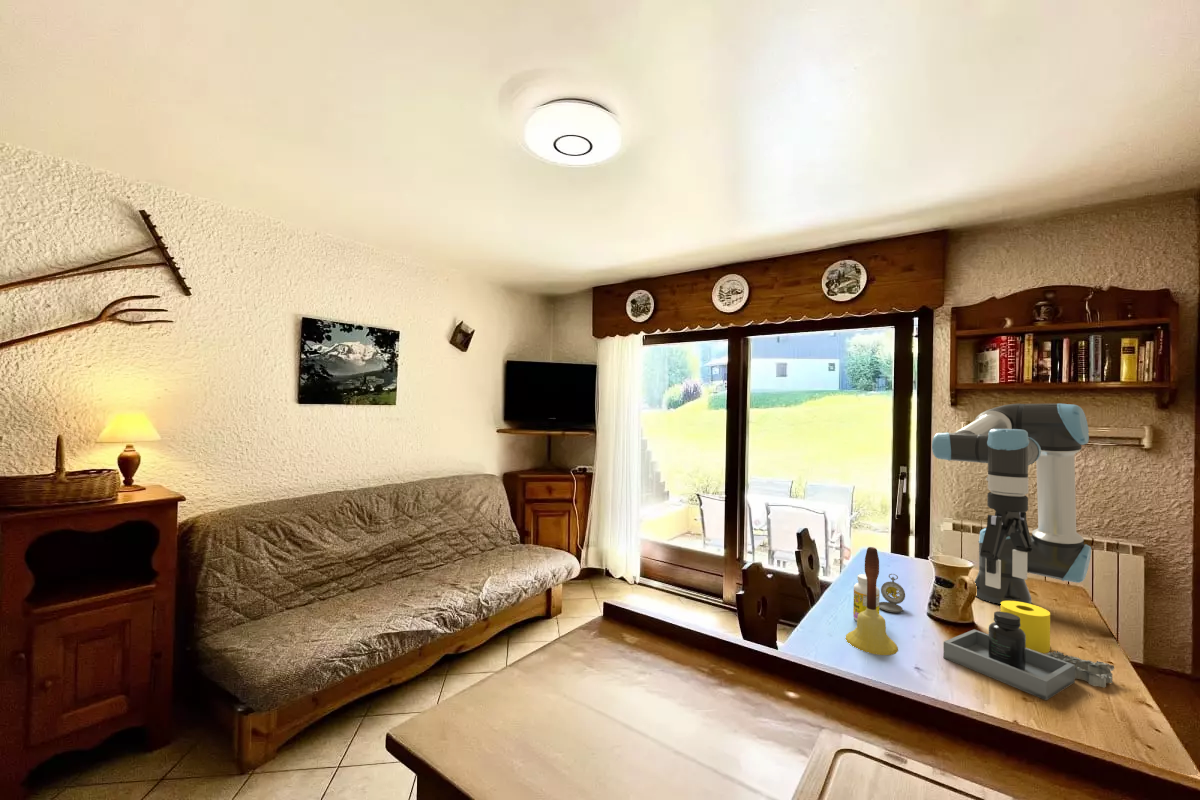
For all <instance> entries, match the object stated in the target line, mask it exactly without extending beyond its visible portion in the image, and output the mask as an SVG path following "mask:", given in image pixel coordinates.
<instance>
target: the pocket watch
mask: <svg viewBox="0 0 1200 800" xmlns="http://www.w3.org/2000/svg"><path fill="white" fill-rule="evenodd" d="M891 575H893V576H892V577H891ZM894 576H896V578H895V577H894ZM888 578H889V579H890V581H886V582H884V583H882V585H881V588H880V593H881V595H882V597H883V598H884V599H885V600H886V601H879V610H882V611H885V612H889V613H895V614H896V613H901V612H903V607H902V606H900V605H899V604H901V603H903V602H904V600H905V599H906V592H905V589H904V588H903V586H902V585H901V584H899V583H897V582H895V581H896V580H898V578H899V576H898V575H897V574H895V573H889V574H888Z"/></svg>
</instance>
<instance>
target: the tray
mask: <svg viewBox="0 0 1200 800" xmlns="http://www.w3.org/2000/svg"><path fill="white" fill-rule="evenodd" d="M988 646H989V633H986V632H984V631H983V632H982V631H980V630H977V629H975V628H974V629H972V630H969V631H967V632H964V633H961V634H959V635H957V636H954V637H952V638H951V637H950V638H949V639H947V640H944V641H943V655H942V657H943V658H944V659H945V660H948V661H951V662H953V663H955V664H958V665H960V666H963V667H965V668H967V669H969V670H971V671H974V672H977V673H979V674H981V675H984V676H986V677H989V678H992V679H994V680H996V681H998V682H1001V683H1004V684H1005V685H1008V686H1010V687H1012V688H1015V689H1017V690H1020V691H1023V692H1024V693H1027V694H1030V695H1031V696H1034V697H1037V698H1039V699H1042V700H1044V701H1048V700H1049V699H1051V698H1052V697H1054V696H1055V695H1057V694H1059V693H1060V692H1062V691H1063V690H1066V689H1067V688H1068V687H1070V686H1072V685H1073V684H1074V683H1075V682H1076V681H1075V665H1074V664H1071V663H1068V662H1065V661H1063V660H1060V659H1057V658H1054V657H1051V656H1048V655H1047V654H1046V653H1040V652H1037V651H1034V650H1031V649H1029V648H1026V666H1025V671H1023V670H1020V669H1018V668H1015V667H1012V666H1010V665H1007V664H1005V663H1002V662H999V661H997V660H994V659H992V658H989V657H988Z"/></svg>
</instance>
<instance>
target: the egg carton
mask: <svg viewBox="0 0 1200 800" xmlns="http://www.w3.org/2000/svg"><path fill="white" fill-rule="evenodd" d="M1045 654H1046V655H1048V656H1051V657H1054V658H1057V659H1060V660H1063V661H1065V662H1068V663H1071V664H1074V665H1075V679H1078V680H1082V681H1085V682H1088V685H1090V686H1093V687H1101V688H1106V687H1107V684H1108V683H1112V684H1113V673H1112V672H1113V671H1114V669H1115V666H1114V665H1113V664H1110V663H1108V662H1103V661H1098V660H1097V661H1096V662H1094V661H1092V660H1091V659H1090V660H1089V659H1087V660H1085V659H1082V658H1079V657H1077V656H1072V655H1067V654H1064V653H1063V652H1060V651H1058V650H1057V651H1055V650H1054V651H1052V652H1048V653H1045Z"/></svg>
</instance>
